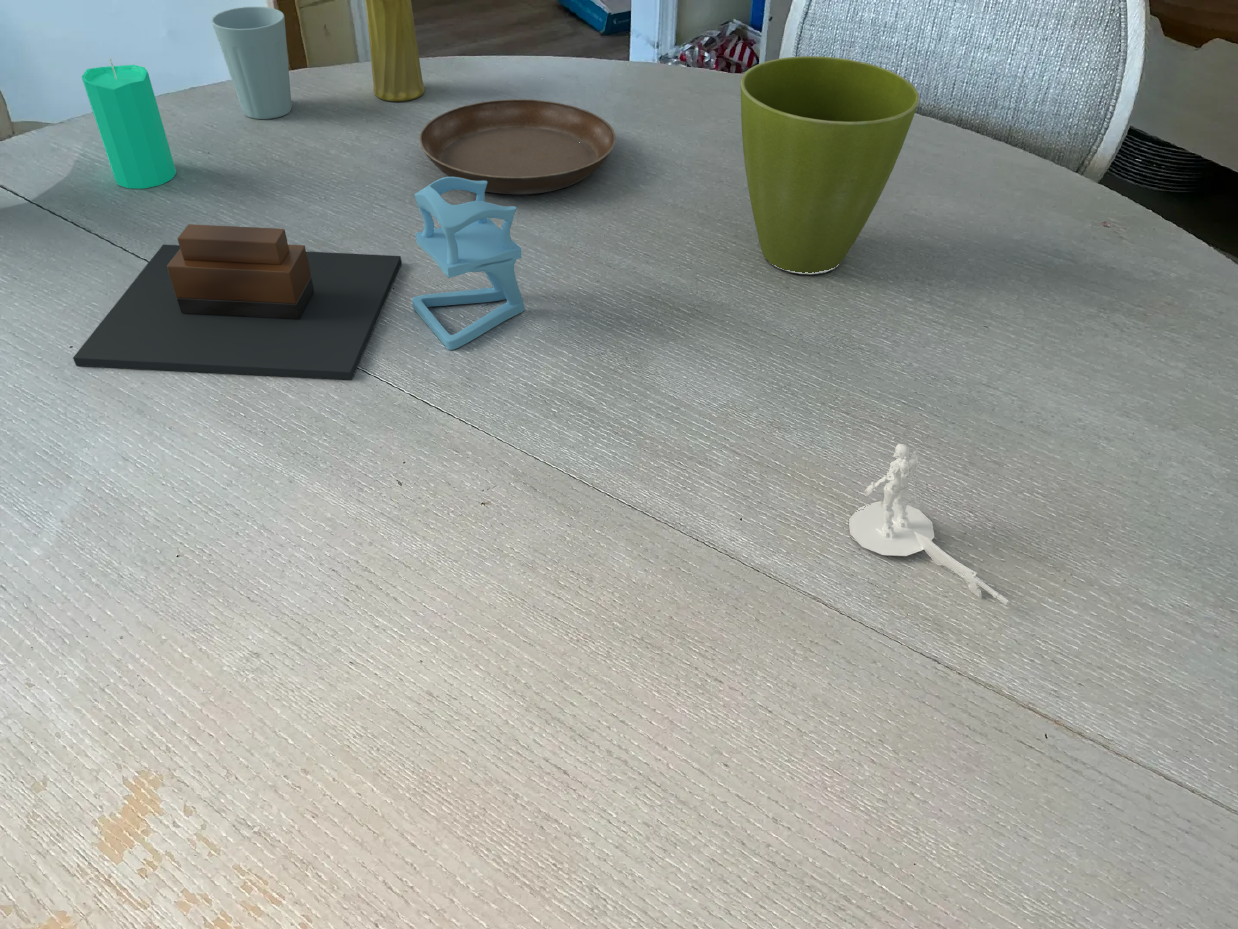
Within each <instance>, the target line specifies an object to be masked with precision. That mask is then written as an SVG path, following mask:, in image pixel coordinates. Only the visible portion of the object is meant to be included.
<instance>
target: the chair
mask: <svg viewBox="0 0 1238 929" xmlns="http://www.w3.org/2000/svg"><path fill="white" fill-rule="evenodd" d="M486 186H487V181H474V180H468V179H464V178H459V177H449V176H445V177H441V178H439V179H436V180H434V181H433V182H431V183H430V184H428V185H426V186H425V187H423V188H422V189H420V190H419V191H417V192H416V193H414V194H413V197H414V198H415V201H416V205H417V208H418V210H419V212H420V215H421V217H422V220H423V221H422V222H423V229H422V231H418V232H415V233H414V235H415V236H414V237H415V243H416V244H417V246H418V247H419V248H420V249H421V250H422V251H423V252H425V253H426V254H427V255H428V256H429V257H430V258H431V259H432V260H433V261H434V262H435V264H436V266H437V267H438V268H439V269H440V271H441V272H442V273H443V274H444V275H445V276H446V277H447V278H448V279H450V278H454V277H459V276H461V275H465V274H468V273H481V272H482V273H484V274H485V276H486V277H487V279H488V281H489V282H490V285H492V287H485V288H477V289H467V290H456V291H445V292H444V291H443V292H436V293H427V294H421V295H417V296H413V297H412V298H411V303H412V308H413V310H414V311H415V313H416V314H417V315H418V316H419V317H420V318H421V320H422V321H423V322H424V323H425V324H426V325H427V327H428V328H429V329H430V330H431V331H432V333H433V334H434V335H435V336H436V337H437V339H439V341H440V342H441V343H442V344H443V346H444V347H445V348H446V349H447V350H448V351H452V350H453V351H454V350H457V349H458V348H460V347H462V346H465V345H466V344H468V343H469V342H472V341H473V340H475V339H477V338H478V337H480V336H482V335H484V334H485V333H487V332H489V331H490V330H492V329H493V328H495V327H497V326H499V325H500V324H502V323H505V321H507V320H509V319H511V318H513V317H515V316H517V315H519V314H521V313H523V312H525V310H526V306H525V302H524V298H523V296H522V293H521V290H520V287H519V285H518V281H517V278H516V272H515V265H516V262H517V261H518V260H519V259H522V258H523V256H522V255H523V254H522V253H523V252H522V247H521V246H520V245H519V244H517V242H515V240H513V239H512V236H511V227H512V224H513V221H514V217H515V214H516V211H517V207H516V205H515V206H514V205H510V206H505V205H500V204H495V203H492V202H488V201H485V192H486V191H485V189H486ZM454 190H455V191H456V190H459V191H465V192H466V191H467V192H470V193H473V194H476V195H475V200H471V201H466V202H463V203H459V204H451V203H449V202H447V201H446V200H445V199H444V198H443V197H442V196H441V195H443V194H444V193H446V192H449V191H454ZM433 218H434V219H433ZM492 219H498V220H503V221H502V224H501V227H500V228H499V227H498V225H497V224H496V223H495V222H494V221H493V220H492ZM434 220H436V222H437V224H438V225H439V226H440V227H435V222H434ZM503 300H506V302H505V303H503V304H501V305H500V306H497V307H496V308H495V309H493V310H491V311H490V312H488V313H486V314H485V315H483V316H482V317H480V318H478V319H477V320H474V321H473V322H472V323H470V324H469V325H467V326H465V327H463V329H461V330H459V331H457V332H456V333H454V334H450V333H449V332H448V330H446V328H445V327H444V326H443V325H442V324H441V322H439V320H438V319H437V317H436V316H435V315H434V314H433V313H432V312H431V310H430V309H429V308H433V307H442V306H443V307H444V306H457V305H468V304H480V303H490V302H498V301H503Z"/></svg>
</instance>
